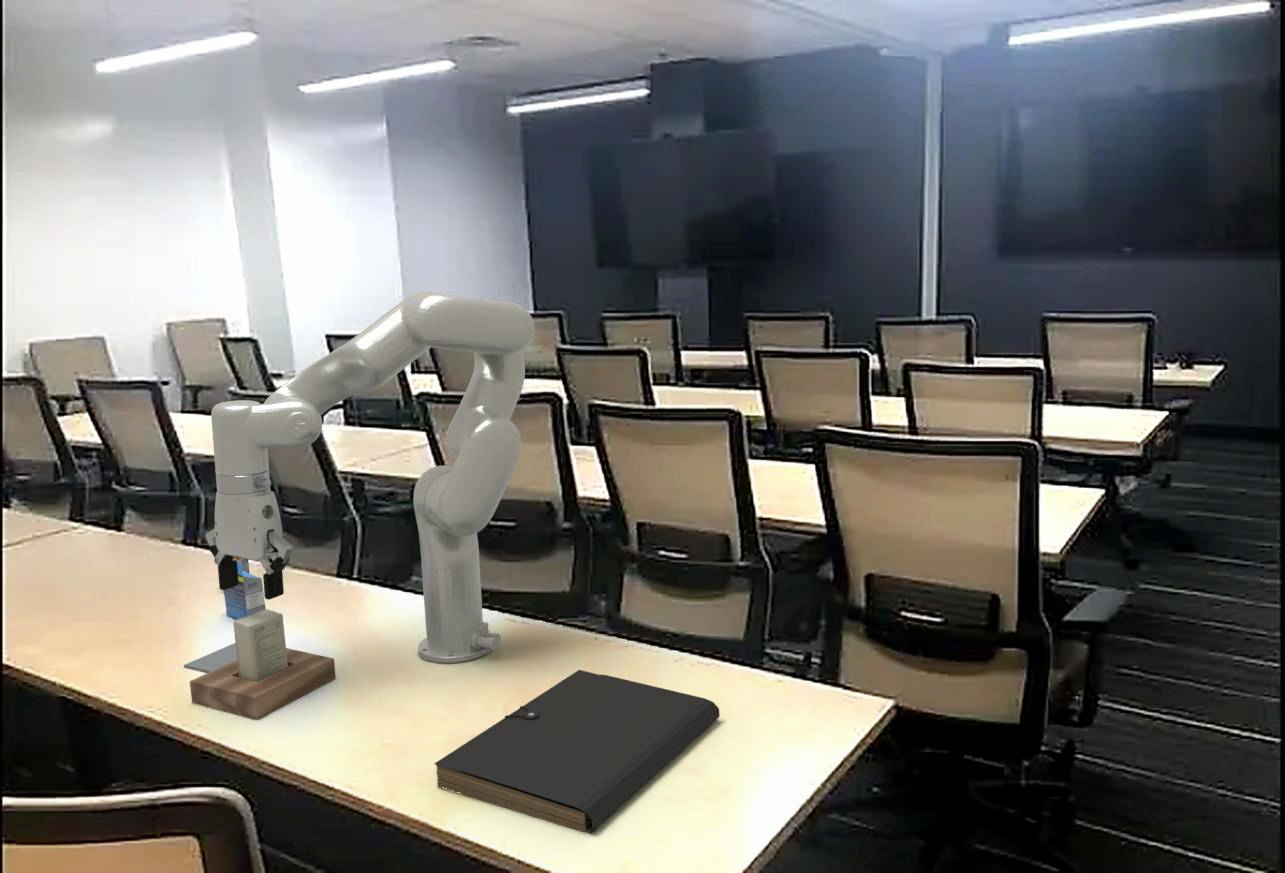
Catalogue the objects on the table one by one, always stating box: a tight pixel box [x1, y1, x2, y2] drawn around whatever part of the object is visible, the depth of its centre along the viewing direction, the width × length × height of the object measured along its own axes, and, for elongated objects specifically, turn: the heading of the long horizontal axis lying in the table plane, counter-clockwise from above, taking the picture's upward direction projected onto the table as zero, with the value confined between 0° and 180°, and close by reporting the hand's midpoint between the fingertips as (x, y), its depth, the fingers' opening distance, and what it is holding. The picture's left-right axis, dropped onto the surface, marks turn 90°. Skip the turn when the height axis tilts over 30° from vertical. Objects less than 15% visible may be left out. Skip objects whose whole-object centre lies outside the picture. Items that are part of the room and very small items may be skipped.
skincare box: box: [232, 608, 288, 682], centre depth 165 cm, size 6×4×12 cm
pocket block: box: [189, 647, 337, 721], centre depth 166 cm, size 14×16×4 cm
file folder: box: [433, 669, 721, 835], centre depth 143 cm, size 33×4×24 cm
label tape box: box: [223, 559, 267, 620], centre depth 198 cm, size 9×4×12 cm, turn 48°
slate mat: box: [183, 642, 237, 674], centre depth 179 cm, size 12×12×1 cm
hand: (251, 592), depth 163 cm, fingers open, 9 cm apart
